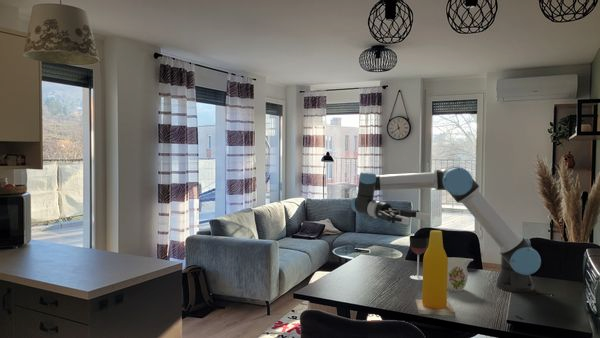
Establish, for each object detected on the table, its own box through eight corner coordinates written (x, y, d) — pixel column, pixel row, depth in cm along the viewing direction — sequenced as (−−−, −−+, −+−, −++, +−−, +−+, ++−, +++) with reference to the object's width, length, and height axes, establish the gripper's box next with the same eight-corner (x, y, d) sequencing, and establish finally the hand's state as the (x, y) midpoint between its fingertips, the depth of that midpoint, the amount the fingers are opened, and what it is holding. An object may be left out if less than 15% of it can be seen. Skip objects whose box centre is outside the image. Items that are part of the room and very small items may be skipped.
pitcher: (428, 284, 199) (429, 255, 199) (468, 286, 198) (469, 256, 198) (434, 292, 188) (435, 261, 188) (476, 293, 187) (477, 262, 187)
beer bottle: (420, 307, 165) (422, 232, 164) (423, 300, 173) (424, 228, 172) (446, 310, 161) (448, 233, 160) (447, 303, 170) (449, 230, 169)
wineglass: (427, 280, 206) (428, 238, 206) (409, 279, 208) (409, 238, 207) (426, 276, 214) (427, 235, 213) (408, 274, 216) (409, 235, 215)
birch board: (448, 305, 172) (448, 301, 172) (455, 316, 160) (455, 312, 160) (415, 303, 174) (415, 299, 174) (419, 313, 162) (419, 309, 162)
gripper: (397, 215, 201) (436, 225, 184) (359, 221, 185) (399, 232, 169) (398, 199, 200) (438, 208, 183) (361, 204, 184) (400, 213, 168)
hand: (419, 219), depth 176 cm, fingers open, 13 cm apart
